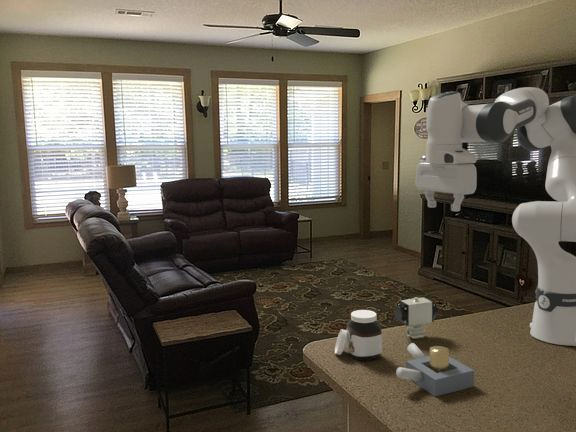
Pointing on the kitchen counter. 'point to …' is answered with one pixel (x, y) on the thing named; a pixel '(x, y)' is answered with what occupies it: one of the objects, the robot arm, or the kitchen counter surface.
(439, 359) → the cylinder
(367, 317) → the spread jar
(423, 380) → the coupling block
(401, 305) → the pneumatic valve
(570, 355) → the kitchen counter surface
